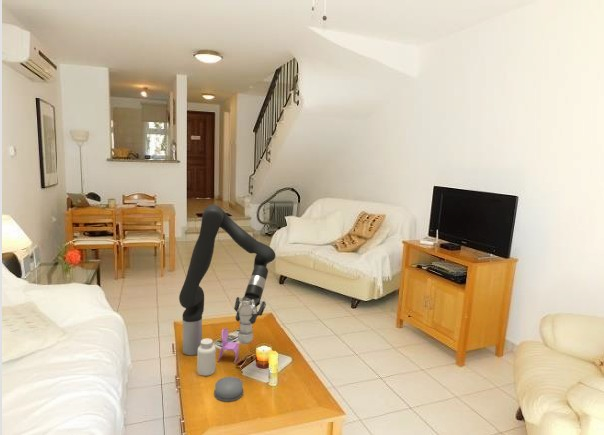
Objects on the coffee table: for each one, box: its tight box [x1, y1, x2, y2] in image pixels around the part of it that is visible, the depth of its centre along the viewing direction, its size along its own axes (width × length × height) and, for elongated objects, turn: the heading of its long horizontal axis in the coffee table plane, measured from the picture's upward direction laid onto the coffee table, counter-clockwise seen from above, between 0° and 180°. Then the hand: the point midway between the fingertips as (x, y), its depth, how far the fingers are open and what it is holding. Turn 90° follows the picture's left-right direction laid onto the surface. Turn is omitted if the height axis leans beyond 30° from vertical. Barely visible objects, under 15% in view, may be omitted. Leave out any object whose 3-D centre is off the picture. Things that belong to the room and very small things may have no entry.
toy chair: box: [217, 328, 240, 364], centre depth 198 cm, size 8×9×15 cm
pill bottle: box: [196, 337, 217, 377], centre depth 187 cm, size 8×8×15 cm
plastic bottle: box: [237, 298, 254, 345], centre depth 182 cm, size 6×7×20 cm
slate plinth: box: [213, 376, 244, 403], centre depth 172 cm, size 12×12×4 cm
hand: (244, 321), depth 181 cm, fingers closed on plastic bottle, 6 cm apart
